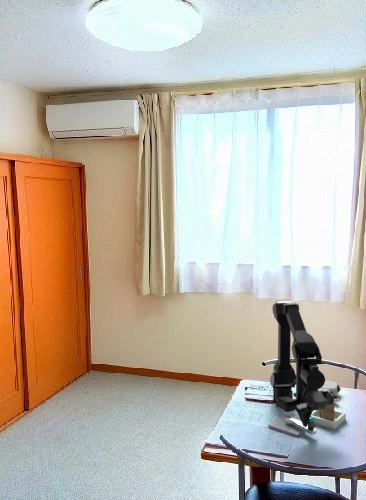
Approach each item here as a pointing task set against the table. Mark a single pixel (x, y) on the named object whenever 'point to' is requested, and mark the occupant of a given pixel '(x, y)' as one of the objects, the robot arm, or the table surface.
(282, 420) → the crank base
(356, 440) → the table surface
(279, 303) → the robot arm
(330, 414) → the brown block
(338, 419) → the tray
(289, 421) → the crank
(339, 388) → the robot toy
